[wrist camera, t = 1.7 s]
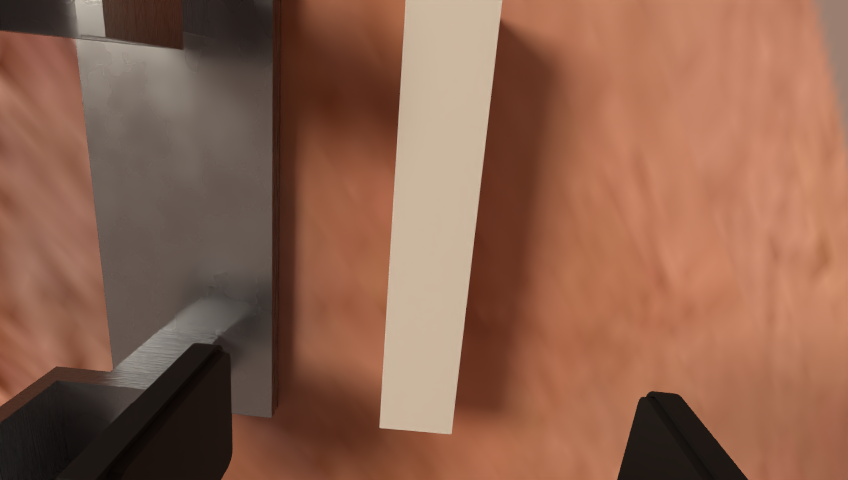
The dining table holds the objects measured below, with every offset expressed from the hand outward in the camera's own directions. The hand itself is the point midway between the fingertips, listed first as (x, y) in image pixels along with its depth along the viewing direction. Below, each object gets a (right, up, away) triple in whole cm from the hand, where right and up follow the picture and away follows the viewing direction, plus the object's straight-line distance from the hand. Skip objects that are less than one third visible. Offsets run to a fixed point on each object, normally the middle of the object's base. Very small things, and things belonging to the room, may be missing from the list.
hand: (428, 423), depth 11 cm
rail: (0, +6, +17) cm, 18 cm away
